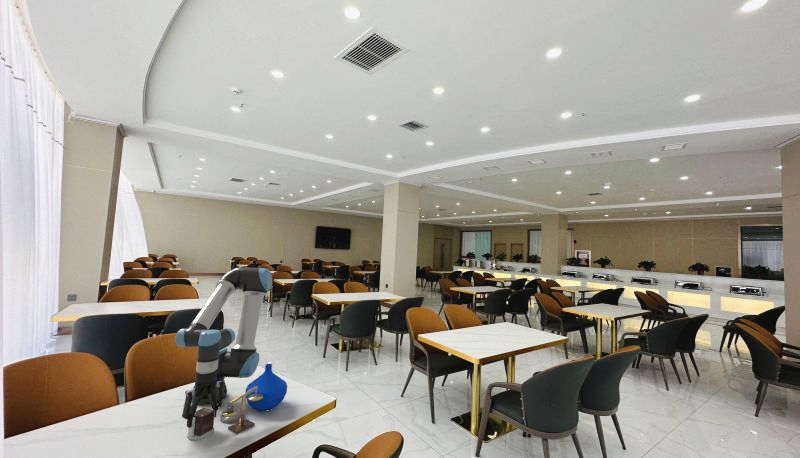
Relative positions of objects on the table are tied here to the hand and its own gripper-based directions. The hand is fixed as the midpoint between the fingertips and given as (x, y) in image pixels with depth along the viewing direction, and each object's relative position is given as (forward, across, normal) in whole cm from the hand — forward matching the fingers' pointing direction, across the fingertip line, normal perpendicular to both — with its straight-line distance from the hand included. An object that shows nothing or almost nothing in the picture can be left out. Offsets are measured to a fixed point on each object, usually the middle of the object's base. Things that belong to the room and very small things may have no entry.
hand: (200, 430), depth 127 cm
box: (+1, 0, 0) cm, 1 cm away
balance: (+1, +12, -8) cm, 15 cm away
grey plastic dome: (+1, +14, +2) cm, 14 cm away
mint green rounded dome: (+1, 0, 0) cm, 1 cm away
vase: (+1, +29, 0) cm, 29 cm away
